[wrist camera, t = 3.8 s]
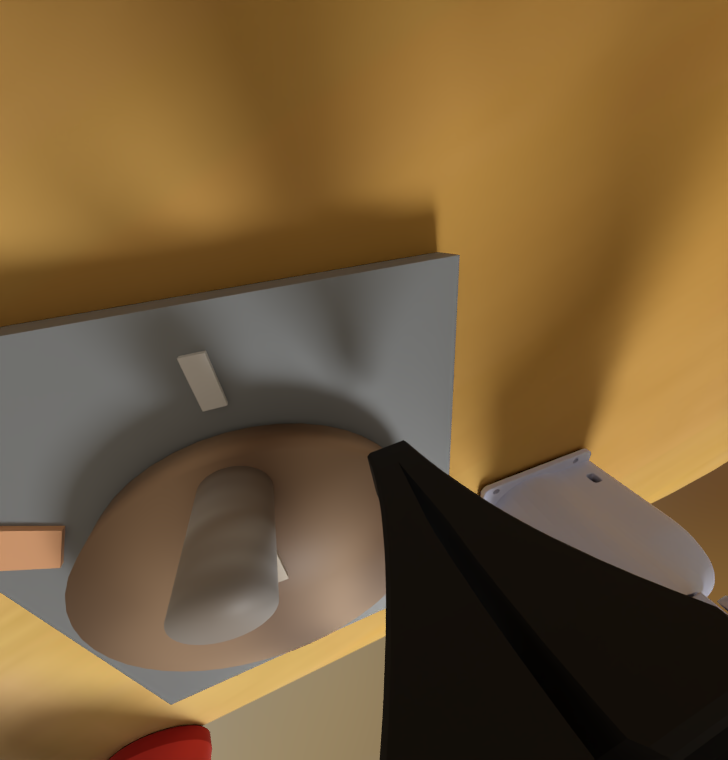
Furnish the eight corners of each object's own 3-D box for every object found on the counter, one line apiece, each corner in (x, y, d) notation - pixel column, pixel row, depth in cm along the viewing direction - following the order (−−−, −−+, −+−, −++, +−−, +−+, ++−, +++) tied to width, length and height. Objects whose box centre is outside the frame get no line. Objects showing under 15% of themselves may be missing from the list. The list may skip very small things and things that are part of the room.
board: (437, 252, 11) (462, 255, 10) (433, 562, 23) (445, 584, 21) (-210, 363, 7) (-323, 394, 6) (176, 673, 19) (169, 709, 17)
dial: (404, 383, 12) (488, 473, 7) (414, 566, 19) (460, 668, 14) (-16, 498, 9) (-286, 761, 4) (182, 665, 16) (152, 831, 11)
